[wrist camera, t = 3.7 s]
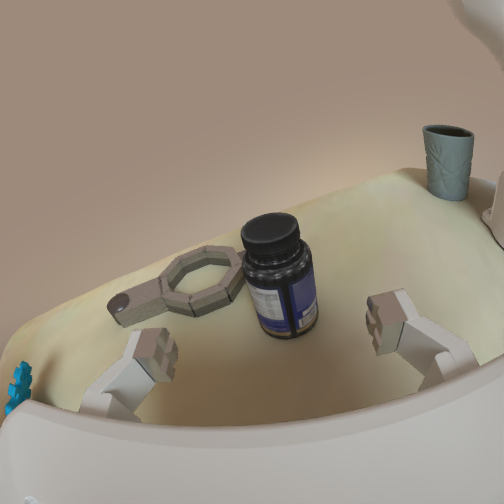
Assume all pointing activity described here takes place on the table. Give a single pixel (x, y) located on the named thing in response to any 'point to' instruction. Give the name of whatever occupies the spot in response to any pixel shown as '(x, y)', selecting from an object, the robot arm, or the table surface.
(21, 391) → the blue jointed connector toy
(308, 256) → the pill bottle
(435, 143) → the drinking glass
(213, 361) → the table surface
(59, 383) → the table surface
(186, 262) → the octagon ring handle
